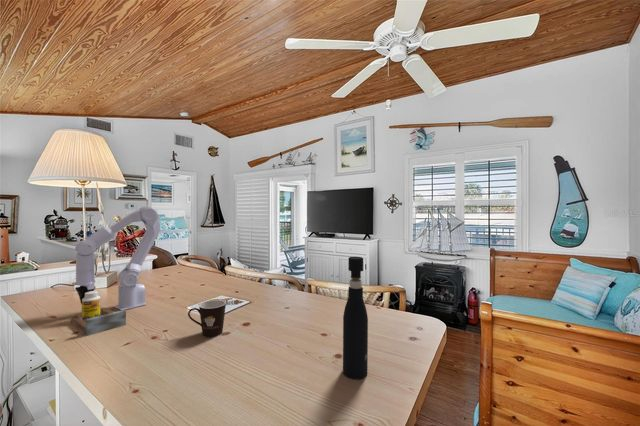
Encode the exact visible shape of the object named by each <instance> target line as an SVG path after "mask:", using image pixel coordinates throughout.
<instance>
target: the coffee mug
mask: <svg viewBox="0 0 640 426" xmlns="http://www.w3.org/2000/svg"><path fill="white" fill-rule="evenodd" d="M226 306H227V302H226V301H225V300H221V299H212V300H206V301H203V302H201V303H199V304H198V308H197V307H192V308H190V309H189V310H188V312H187V316H188V318H189V319H190V321H192V322H193V323H195V324H197V325H199V326H200V327H201V332H202V333H201V334H202V336H203V337H204V338H215V337H218V336H220V335H222V334H223V331H224V330H223V329H224V321H225V314H226V308H227V307H226ZM192 311H197V313H198V314H199V315H200V322H199V321H197V320H196V319H194V318H193V317H192V316H191V312H192Z"/></svg>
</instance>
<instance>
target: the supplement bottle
mask: <svg viewBox="0 0 640 426" xmlns="http://www.w3.org/2000/svg"><path fill="white" fill-rule="evenodd" d="M97 316H101V296H100V295H99V292H98V291H97V290H94V291H90V292H86V293H85V298H83V299H82V305H81V319H82V320H83V321H85V322H86V319H89V318H93V317H97Z"/></svg>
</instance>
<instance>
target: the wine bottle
mask: <svg viewBox="0 0 640 426" xmlns="http://www.w3.org/2000/svg"><path fill="white" fill-rule="evenodd" d="M347 269H348V271H349V272H350V279H349V285H348V297H347V300H346V303H345V306H344V309H343V315H342V316H343V318H342V319H343V320H342V332H343V333H342V373H343V375H344V377H345V376H346V378H349V379H352V380H361V379H364V378H366V377H367V376H368V366H369V365H368V364H369V363H368V360H369V359H368V355H369V354H368V352H369V351H368V349H369V347H368V346H369V345H368V344H369V341H368V340H369V317H368V311H367V307H366V303H365V301H364V287H363V282H362V281H363V280H362V279H361V278H362V276H361V275H362V274H361V272H363V271H364V258H363V257H361V256H350V257H348V268H347Z"/></svg>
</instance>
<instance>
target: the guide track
mask: <svg viewBox="0 0 640 426" xmlns="http://www.w3.org/2000/svg"><path fill="white" fill-rule="evenodd" d="M101 314H102V315H101ZM101 314H100V316H97V317H93V318H89V319H86V321H83V320H82V317H79V316H78V315H73V316H70V323H71V324H72V325H74V326H75V327H76V328H78V329H79V330H80V331H81V332H82V333H83V334H85V335H86V336H91V335H95V334H98V333H102V332H105V331H106V332H107V331H109V330H112V329H116V328H119V327H123V326H126V325H127V310H118V311H115V312H114V311H112V310H111V309H110V308H103V309H102V310H101Z"/></svg>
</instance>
